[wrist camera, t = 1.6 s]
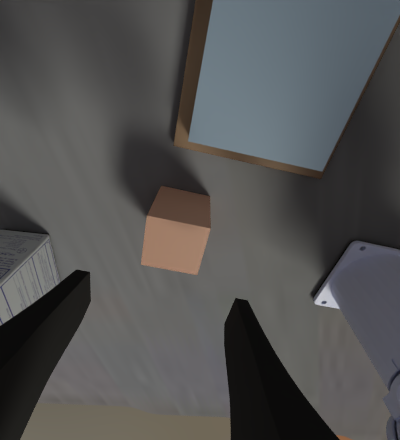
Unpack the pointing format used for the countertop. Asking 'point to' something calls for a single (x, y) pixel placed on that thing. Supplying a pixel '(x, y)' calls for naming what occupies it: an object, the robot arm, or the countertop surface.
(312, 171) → the lower tile
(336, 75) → the upper tile
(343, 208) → the countertop surface
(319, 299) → the robot arm
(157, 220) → the terracotta block
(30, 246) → the medicine box
